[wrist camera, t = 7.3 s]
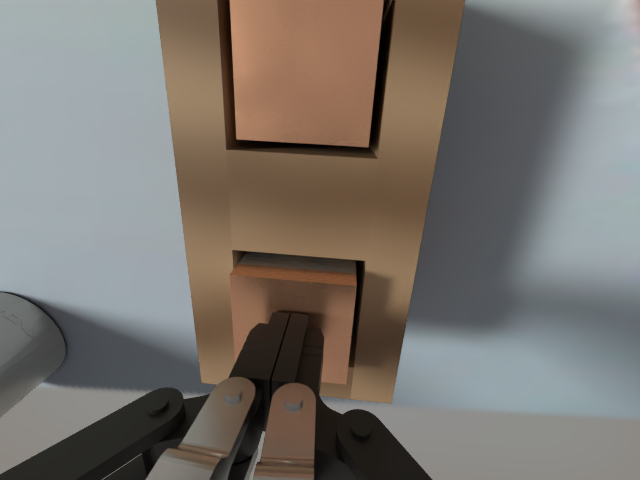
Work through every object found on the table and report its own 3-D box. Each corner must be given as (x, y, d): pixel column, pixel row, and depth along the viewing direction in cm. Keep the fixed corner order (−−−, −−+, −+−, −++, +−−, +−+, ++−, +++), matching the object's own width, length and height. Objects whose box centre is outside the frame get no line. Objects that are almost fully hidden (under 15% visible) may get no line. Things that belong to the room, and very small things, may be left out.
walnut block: (376, 305, 24) (391, 403, 16) (250, 293, 25) (201, 383, 17) (420, -9, 17) (489, -131, 9) (239, -14, 18) (140, -132, 9)
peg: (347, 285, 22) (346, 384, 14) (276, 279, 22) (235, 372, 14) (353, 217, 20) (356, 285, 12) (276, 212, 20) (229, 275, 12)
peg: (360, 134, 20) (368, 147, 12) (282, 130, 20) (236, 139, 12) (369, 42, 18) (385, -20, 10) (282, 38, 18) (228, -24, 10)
